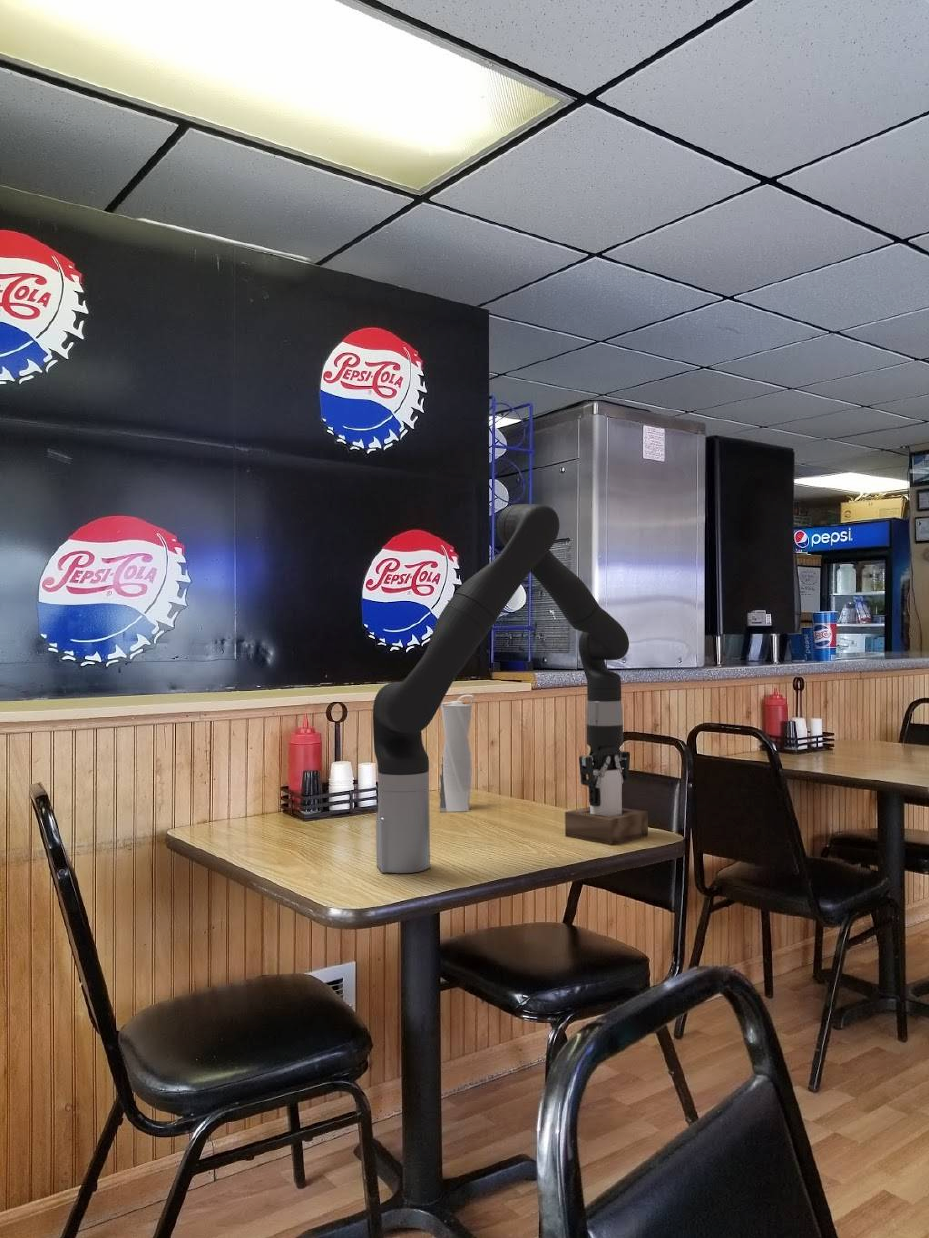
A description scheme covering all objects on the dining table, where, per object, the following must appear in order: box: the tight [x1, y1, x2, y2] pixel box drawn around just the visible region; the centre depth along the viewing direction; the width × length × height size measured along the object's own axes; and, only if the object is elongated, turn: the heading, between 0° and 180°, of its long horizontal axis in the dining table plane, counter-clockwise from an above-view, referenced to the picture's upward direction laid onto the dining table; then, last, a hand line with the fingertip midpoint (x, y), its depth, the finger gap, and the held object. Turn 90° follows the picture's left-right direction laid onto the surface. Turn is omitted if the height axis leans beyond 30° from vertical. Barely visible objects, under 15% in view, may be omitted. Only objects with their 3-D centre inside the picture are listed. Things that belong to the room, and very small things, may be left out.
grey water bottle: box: [439, 694, 474, 814], centre depth 224 cm, size 8×8×28 cm
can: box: [589, 768, 623, 817], centre depth 192 cm, size 6×6×12 cm
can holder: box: [564, 806, 649, 846], centre depth 192 cm, size 12×12×5 cm
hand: (605, 803), depth 192 cm, fingers closed on can, 6 cm apart
